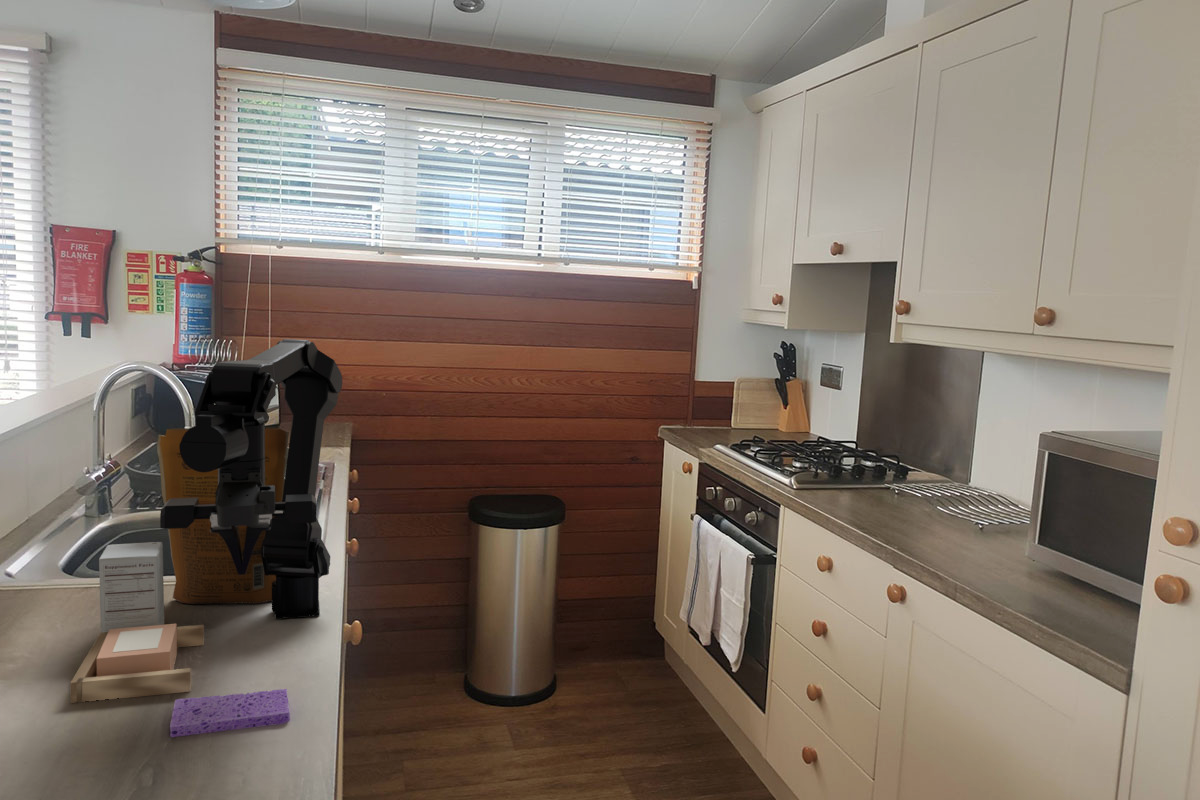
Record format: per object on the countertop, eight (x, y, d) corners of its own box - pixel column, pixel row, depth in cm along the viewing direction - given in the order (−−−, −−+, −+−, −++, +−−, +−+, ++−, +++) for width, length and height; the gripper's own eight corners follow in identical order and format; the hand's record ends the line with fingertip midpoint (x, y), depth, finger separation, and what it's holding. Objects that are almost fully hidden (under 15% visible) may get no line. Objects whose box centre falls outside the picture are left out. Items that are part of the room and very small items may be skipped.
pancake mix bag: (281, 607, 136) (283, 429, 134) (153, 607, 134) (154, 426, 132) (291, 595, 142) (294, 425, 141) (169, 595, 140) (171, 423, 139)
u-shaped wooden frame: (204, 641, 122) (203, 624, 122) (190, 691, 106) (189, 672, 106) (100, 650, 118) (100, 632, 117) (70, 703, 102) (70, 682, 102)
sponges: (175, 714, 102) (175, 698, 102) (288, 700, 106) (289, 686, 106) (168, 742, 95) (168, 726, 95) (290, 727, 100) (290, 711, 99)
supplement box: (108, 628, 125) (106, 543, 124) (165, 624, 128) (164, 540, 127) (99, 648, 118) (97, 558, 117) (159, 642, 121) (158, 554, 120)
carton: (177, 655, 118) (176, 623, 117) (170, 686, 108) (169, 650, 108) (110, 662, 115) (109, 628, 114) (97, 694, 105) (96, 658, 105)
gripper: (152, 471, 103) (154, 599, 104) (317, 468, 109) (316, 588, 110) (166, 455, 113) (167, 571, 115) (316, 453, 119) (315, 563, 121)
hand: (242, 574), depth 115 cm, fingers closed
